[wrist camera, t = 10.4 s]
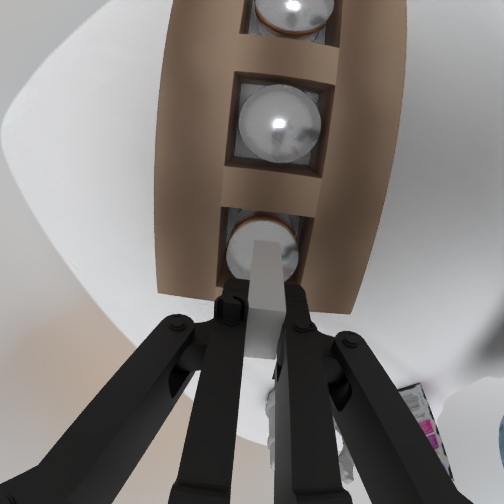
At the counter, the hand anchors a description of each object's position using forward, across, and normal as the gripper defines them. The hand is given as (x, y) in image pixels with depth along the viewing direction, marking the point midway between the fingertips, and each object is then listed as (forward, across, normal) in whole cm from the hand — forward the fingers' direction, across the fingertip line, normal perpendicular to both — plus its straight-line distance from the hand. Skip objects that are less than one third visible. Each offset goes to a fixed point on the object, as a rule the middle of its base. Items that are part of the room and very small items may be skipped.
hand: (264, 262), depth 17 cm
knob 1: (+5, 0, -16) cm, 17 cm away
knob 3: (+5, 0, 0) cm, 5 cm away
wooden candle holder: (+6, 0, -8) cm, 10 cm away
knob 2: (+5, 0, -8) cm, 10 cm away
